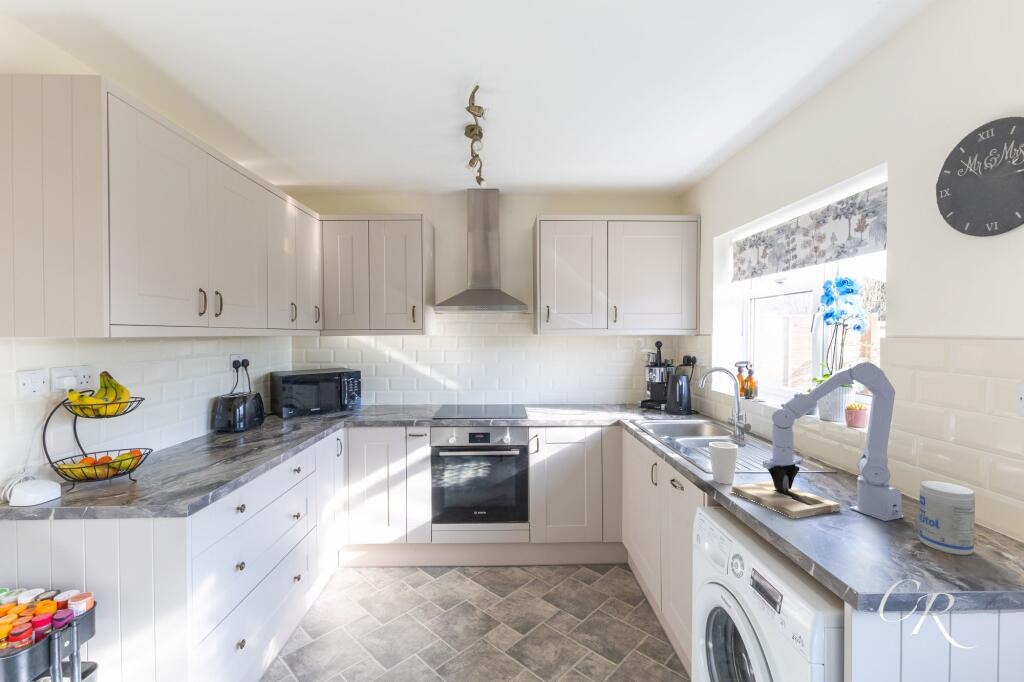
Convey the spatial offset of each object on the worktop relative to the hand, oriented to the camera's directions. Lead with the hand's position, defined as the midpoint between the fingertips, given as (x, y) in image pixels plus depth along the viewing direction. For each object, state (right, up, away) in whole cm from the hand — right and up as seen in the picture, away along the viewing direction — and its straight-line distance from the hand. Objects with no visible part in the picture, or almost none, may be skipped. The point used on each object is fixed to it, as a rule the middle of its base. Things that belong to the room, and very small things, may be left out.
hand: (783, 488), depth 139 cm
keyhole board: (-2, -3, -3) cm, 4 cm away
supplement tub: (+19, -3, -33) cm, 38 cm away
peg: (0, -3, 0) cm, 3 cm away
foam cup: (-11, -3, +16) cm, 20 cm away
